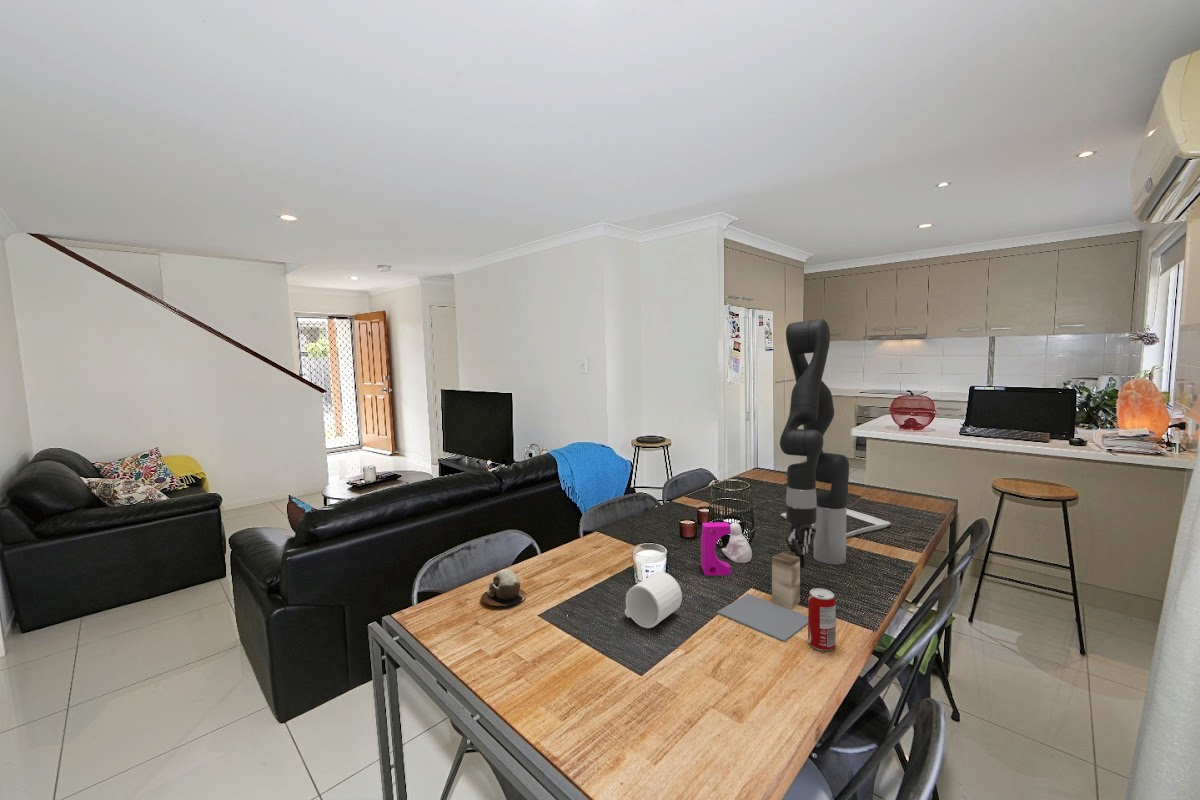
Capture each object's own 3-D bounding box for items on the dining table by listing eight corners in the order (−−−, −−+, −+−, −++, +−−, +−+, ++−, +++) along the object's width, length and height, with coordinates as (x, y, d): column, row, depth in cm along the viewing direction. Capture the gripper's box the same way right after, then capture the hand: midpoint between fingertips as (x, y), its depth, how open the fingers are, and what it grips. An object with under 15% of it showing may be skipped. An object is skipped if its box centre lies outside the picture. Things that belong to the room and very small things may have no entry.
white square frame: (779, 522, 193) (779, 512, 193) (829, 512, 205) (829, 502, 204) (839, 545, 169) (839, 533, 168) (892, 531, 180) (892, 521, 180)
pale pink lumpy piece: (745, 567, 151) (745, 529, 151) (720, 560, 158) (720, 523, 157) (755, 561, 156) (755, 524, 155) (731, 554, 162) (731, 518, 161)
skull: (468, 597, 134) (487, 561, 140) (493, 613, 140) (510, 579, 145) (496, 605, 126) (515, 568, 132) (521, 622, 132) (538, 586, 138)
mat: (747, 595, 134) (747, 593, 134) (813, 619, 120) (813, 618, 120) (716, 613, 125) (716, 611, 125) (784, 642, 111) (784, 640, 111)
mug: (669, 565, 125) (645, 579, 117) (689, 603, 122) (667, 620, 114) (636, 582, 132) (612, 597, 125) (655, 619, 129) (631, 636, 122)
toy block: (701, 568, 152) (725, 567, 152) (705, 577, 146) (730, 576, 146) (700, 520, 151) (725, 519, 151) (704, 526, 145) (730, 526, 144)
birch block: (781, 595, 133) (781, 552, 132) (799, 602, 129) (799, 557, 128) (772, 602, 130) (771, 557, 129) (790, 608, 126) (790, 562, 125)
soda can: (812, 635, 114) (812, 584, 113) (838, 643, 110) (838, 590, 109) (804, 646, 109) (804, 593, 108) (831, 655, 106) (831, 600, 105)
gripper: (799, 496, 140) (799, 556, 141) (775, 505, 131) (775, 569, 133) (826, 501, 135) (826, 563, 136) (802, 511, 126) (802, 578, 127)
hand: (801, 566), depth 134 cm, fingers closed
